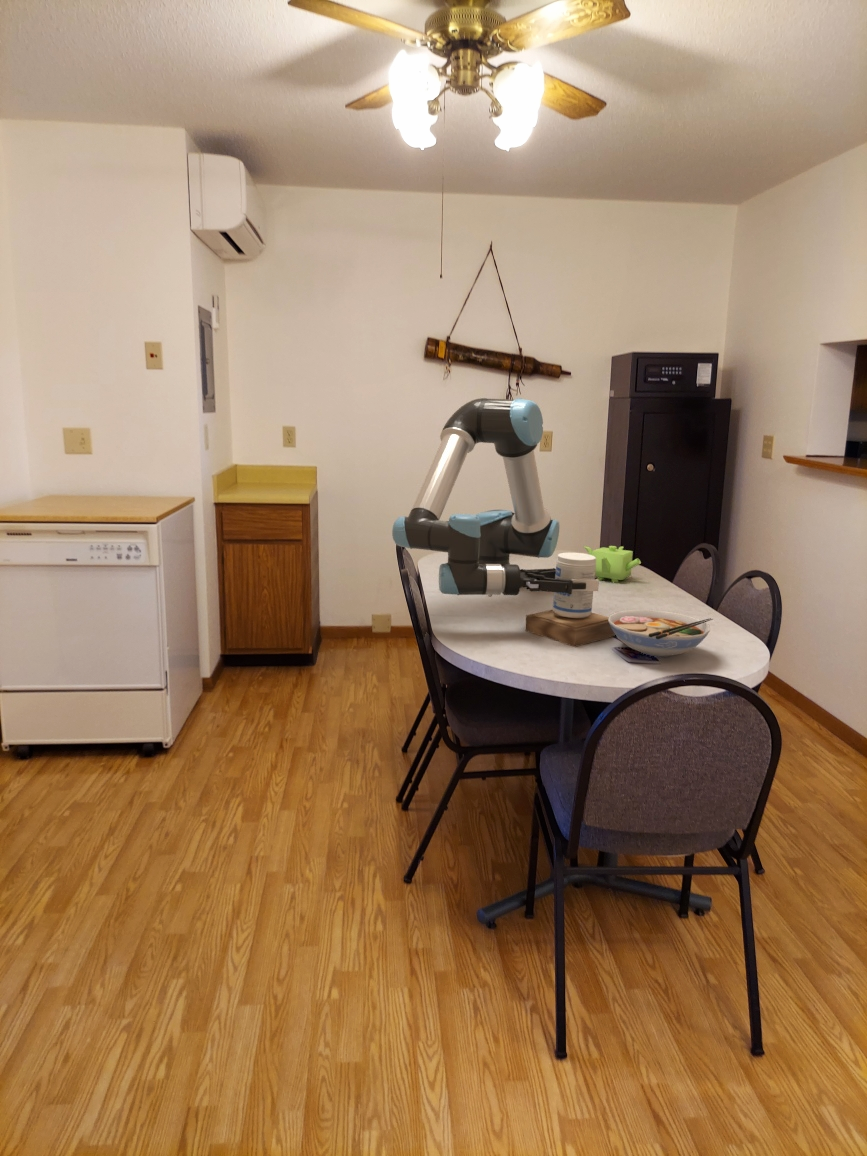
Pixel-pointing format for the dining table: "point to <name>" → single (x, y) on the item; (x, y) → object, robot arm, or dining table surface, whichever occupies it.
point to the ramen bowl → (658, 631)
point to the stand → (569, 627)
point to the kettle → (613, 562)
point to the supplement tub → (571, 569)
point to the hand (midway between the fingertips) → (592, 580)
